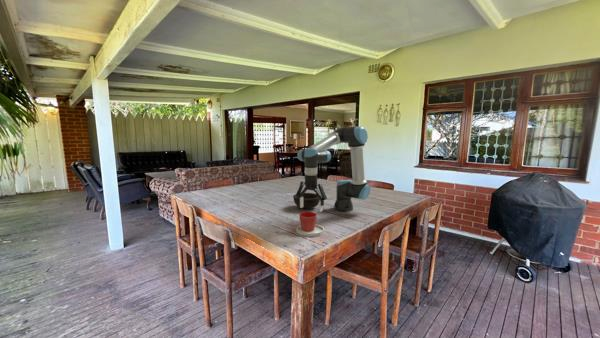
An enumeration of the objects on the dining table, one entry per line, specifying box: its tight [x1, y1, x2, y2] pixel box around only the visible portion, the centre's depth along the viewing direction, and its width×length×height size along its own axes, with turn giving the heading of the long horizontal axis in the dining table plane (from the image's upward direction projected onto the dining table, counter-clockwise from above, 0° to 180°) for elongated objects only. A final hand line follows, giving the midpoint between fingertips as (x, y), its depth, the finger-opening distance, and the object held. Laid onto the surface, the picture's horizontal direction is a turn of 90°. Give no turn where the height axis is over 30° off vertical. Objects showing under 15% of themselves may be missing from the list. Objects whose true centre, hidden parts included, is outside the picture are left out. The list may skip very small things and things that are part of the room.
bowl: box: [292, 192, 320, 210], centre depth 208 cm, size 22×22×10 cm
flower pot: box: [298, 211, 318, 232], centre depth 159 cm, size 11×11×10 cm
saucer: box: [296, 223, 325, 238], centre depth 158 cm, size 17×17×2 cm
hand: (311, 209), depth 157 cm, fingers open, 13 cm apart
